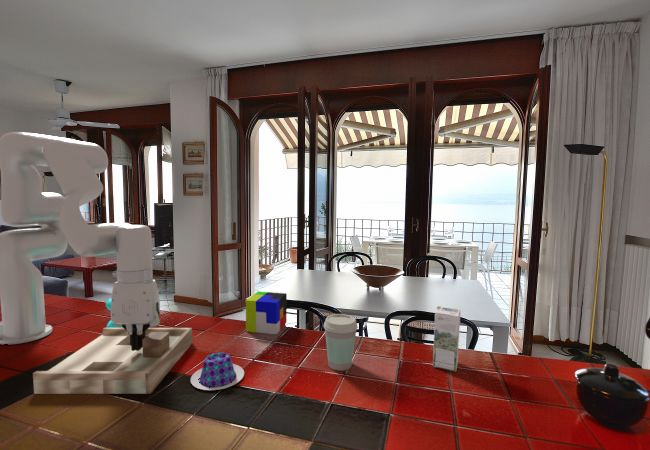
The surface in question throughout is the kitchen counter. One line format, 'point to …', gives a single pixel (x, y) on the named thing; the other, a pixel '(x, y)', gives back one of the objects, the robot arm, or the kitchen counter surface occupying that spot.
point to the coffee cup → (340, 340)
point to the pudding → (217, 372)
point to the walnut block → (155, 344)
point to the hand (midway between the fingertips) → (138, 348)
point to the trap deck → (113, 365)
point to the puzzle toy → (266, 312)
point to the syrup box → (446, 338)
